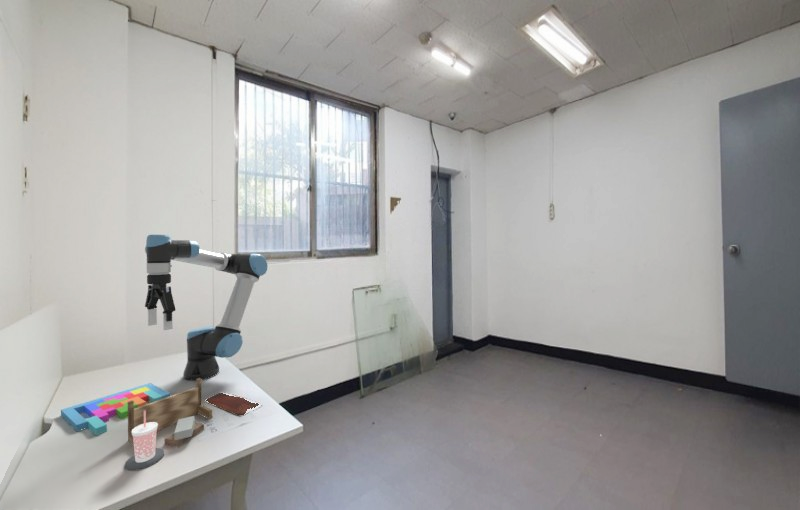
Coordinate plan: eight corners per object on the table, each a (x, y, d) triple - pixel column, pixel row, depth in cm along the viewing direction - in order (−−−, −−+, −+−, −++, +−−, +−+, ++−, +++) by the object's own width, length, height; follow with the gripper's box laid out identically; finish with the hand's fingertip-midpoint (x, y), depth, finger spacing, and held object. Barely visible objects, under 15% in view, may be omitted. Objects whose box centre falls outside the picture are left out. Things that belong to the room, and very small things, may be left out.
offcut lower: (192, 428, 110) (192, 421, 110) (204, 431, 109) (204, 423, 109) (164, 446, 101) (164, 438, 101) (176, 448, 99) (176, 441, 99)
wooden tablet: (264, 407, 126) (264, 403, 126) (241, 418, 117) (241, 414, 117) (224, 392, 139) (224, 388, 139) (200, 401, 130) (200, 397, 130)
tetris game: (61, 417, 118) (84, 441, 103) (60, 409, 118) (84, 432, 103) (150, 389, 142) (180, 405, 127) (150, 382, 142) (179, 398, 127)
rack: (200, 411, 121) (199, 378, 121) (212, 417, 116) (211, 382, 116) (128, 441, 102) (127, 401, 102) (139, 450, 98) (138, 408, 97)
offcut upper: (178, 426, 107) (178, 419, 107) (194, 422, 110) (194, 415, 109) (174, 440, 99) (174, 432, 99) (191, 436, 102) (191, 428, 102)
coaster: (156, 446, 99) (156, 444, 99) (169, 456, 95) (169, 454, 95) (119, 463, 92) (119, 461, 92) (132, 474, 87) (132, 472, 87)
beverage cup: (145, 465, 90) (144, 416, 90) (126, 463, 91) (125, 415, 90) (163, 451, 96) (162, 406, 96) (145, 450, 97) (144, 405, 96)
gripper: (185, 274, 121) (186, 329, 121) (156, 272, 134) (157, 321, 134) (162, 275, 114) (163, 333, 115) (134, 273, 127) (135, 325, 128)
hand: (160, 327), depth 124 cm, fingers open, 13 cm apart
